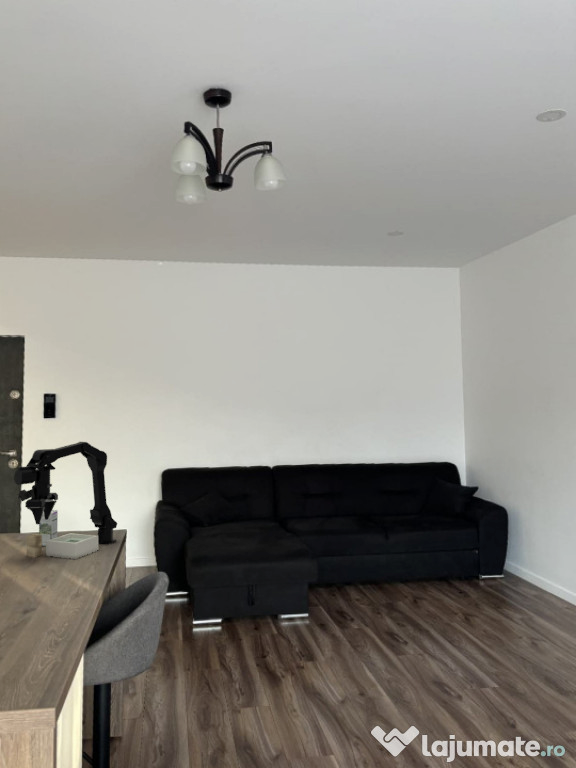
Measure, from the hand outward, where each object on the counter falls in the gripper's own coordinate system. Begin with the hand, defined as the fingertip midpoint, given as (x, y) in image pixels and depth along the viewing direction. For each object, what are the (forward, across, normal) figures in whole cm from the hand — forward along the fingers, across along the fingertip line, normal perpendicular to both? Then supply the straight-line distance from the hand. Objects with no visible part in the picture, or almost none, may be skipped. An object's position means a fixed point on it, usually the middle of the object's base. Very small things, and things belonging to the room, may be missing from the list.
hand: (42, 521), depth 247 cm
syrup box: (+14, -19, -4) cm, 24 cm away
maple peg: (+14, -2, -4) cm, 14 cm away
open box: (+14, -5, +10) cm, 18 cm away
